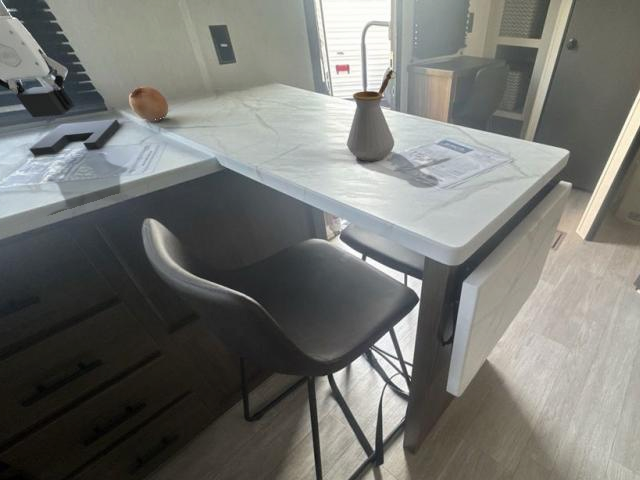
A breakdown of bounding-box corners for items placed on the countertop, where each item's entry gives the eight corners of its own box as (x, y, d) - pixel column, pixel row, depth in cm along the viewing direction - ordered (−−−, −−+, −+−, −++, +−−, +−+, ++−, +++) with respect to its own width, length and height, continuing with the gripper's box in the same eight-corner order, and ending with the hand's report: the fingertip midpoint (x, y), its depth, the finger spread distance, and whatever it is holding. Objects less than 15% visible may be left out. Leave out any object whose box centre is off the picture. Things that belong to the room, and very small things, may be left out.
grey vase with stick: (384, 167, 72) (381, 91, 62) (340, 160, 75) (329, 86, 64) (413, 136, 86) (414, 70, 75) (374, 132, 89) (371, 67, 78)
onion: (159, 134, 97) (134, 105, 87) (138, 120, 98) (111, 90, 89) (182, 115, 99) (160, 85, 90) (161, 102, 101) (137, 71, 91)
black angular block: (32, 117, 74) (15, 95, 71) (47, 108, 79) (32, 87, 76) (62, 114, 75) (47, 92, 72) (75, 105, 80) (61, 85, 77)
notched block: (34, 155, 78) (28, 148, 77) (64, 129, 91) (61, 124, 90) (98, 148, 81) (94, 142, 80) (119, 124, 94) (116, 119, 93)
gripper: (-85, 12, 60) (2, 118, 72) (24, 9, 63) (89, 110, 76) (-59, 10, 65) (18, 109, 77) (41, 7, 68) (98, 102, 81)
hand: (53, 108), depth 77 cm, fingers closed on black angular block, 6 cm apart
